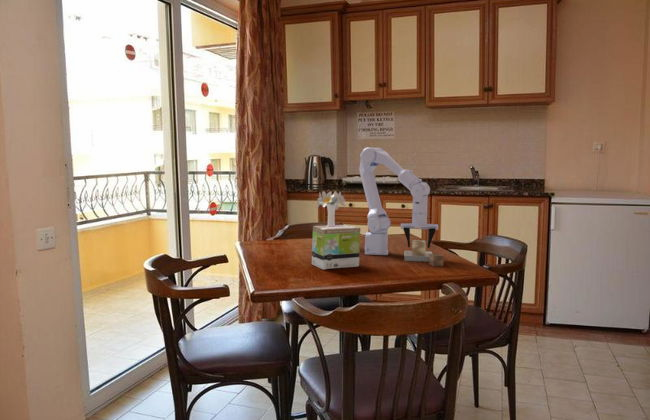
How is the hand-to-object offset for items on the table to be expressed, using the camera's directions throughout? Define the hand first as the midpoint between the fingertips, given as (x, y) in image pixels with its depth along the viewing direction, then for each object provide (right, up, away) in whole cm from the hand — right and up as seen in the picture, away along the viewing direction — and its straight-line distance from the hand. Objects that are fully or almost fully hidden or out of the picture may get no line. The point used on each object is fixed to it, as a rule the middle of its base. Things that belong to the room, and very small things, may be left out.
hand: (418, 247), depth 200 cm
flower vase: (-35, -2, +26) cm, 44 cm away
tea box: (-33, -6, -14) cm, 37 cm away
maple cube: (0, -3, 0) cm, 3 cm away
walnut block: (+4, -6, -11) cm, 13 cm away
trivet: (0, -5, +1) cm, 5 cm away
